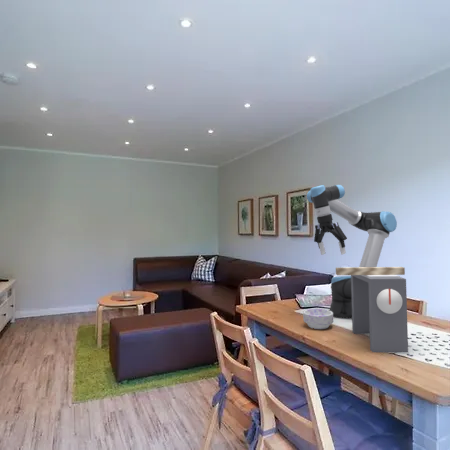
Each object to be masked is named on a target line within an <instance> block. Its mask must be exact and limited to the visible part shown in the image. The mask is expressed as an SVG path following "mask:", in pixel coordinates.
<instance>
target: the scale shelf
mask: <svg viewBox="0 0 450 450" xmlns="http://www.w3.org/2000/svg"><path fill="white" fill-rule="evenodd" d="M350 276H351V293H352V318H351V320H352V321H351V323H352V325H351V326H352V327H351V330H352V333H353V335H354V334H355V335H360V334H361V335H362V334H363V335H365V334H366V335H369V349H370V351H371V352H372V353H397V352H408V353H409V339H408V338H409V335H408V303H407V302H408V300H407V295H408V294H407V279H406V278H405V277H402V276H401V275H350Z"/></svg>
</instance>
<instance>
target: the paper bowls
mask: <svg viewBox="0 0 450 450" xmlns="http://www.w3.org/2000/svg"><path fill="white" fill-rule="evenodd" d="M329 310H330V309H325V308H308V309H305V310H303V312H302V313H303V314H302V316H303V322H304V323H306V324H307V326H308V327H309V328H310V329H313V328H314V330H326V329H328V328H329V327H330V325H332V324H333V323H334V317H333V312H332V311H329Z"/></svg>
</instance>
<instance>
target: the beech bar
mask: <svg viewBox="0 0 450 450" xmlns="http://www.w3.org/2000/svg"><path fill="white" fill-rule="evenodd" d="M405 272H406V268H405V267H403V266H377V267H359V266H358V267H357V266H355V267H352V266H351V267H347V266H346V267H344V266H343V267H335V276H351V275H397V276H401V275H402V276H403V275H404V276H405V274H406V273H405Z"/></svg>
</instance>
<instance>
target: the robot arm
mask: <svg viewBox="0 0 450 450" xmlns="http://www.w3.org/2000/svg"><path fill="white" fill-rule="evenodd" d="M345 193H346V192H345V187H344V186H343V185H341V184H334V185H331V186H325V185H324V184H322V185H318V186H314V187H311V188H310V190H308V192H307V194H306V199H307V201H308V202H309V203H311V204H313V208H314V210H315V216H316V220H317V223H318V224H316V225H314V227H315V228H314V229H315V230H314V237H313V242H314V243H316V244H317V245H318V246H317V247H318V249H319V252H320V255H321V256H323V255H324V254H326V250H325V249H326V248H325V244H324V242H323V239H324V236H325V234H326V233H330V234H332V235H333V236H334V238H336V240H338V247H339V249H340V250H339V251H340V255H344V254H347V252H346V248H345V247H346V243H345V240H347V239H348V237H347V236H346V234H345V233H344V232H343V230H342V229H341V227H340V225H339V222H334V223H333V220H334V219H333V216H332V214H331V213H334V214H336V215H337V216H339V217H341V218H342V219H344V220H346V221H347V223H348V224H349V225H351V226H353V227H355V228H357V229H359V230H361V231H364V232H367V233H368V238H367V240H366V243H365V247H364V250H363V254H362V257H361V259H360V263H359V265H358V267H378V263H379V259H380V256H381V252H382V249H383V247H384V243H385V241H386V240H385V239H387V238H389V237H390V233H393V232H394V231H395V230H396V229H397V223H398V222H397V218H396V216H395V215H394V213H392V212H390V211H383V210H382V211H374V212H372V211H371V212H363V211H362V210H359V209H358V210H357V209H354V208H352V207H351V206H349V205H347V204H345V203H344V202H343V201H340V200H339V199H343V197H345ZM330 280H331V283H330V289H331V290H330V291H331V304H330V306H329V309H328V310H329V311H332V312H333V318H338V319H352V293H351V275H337V276H333V277H332V278H331V279H330Z"/></svg>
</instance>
